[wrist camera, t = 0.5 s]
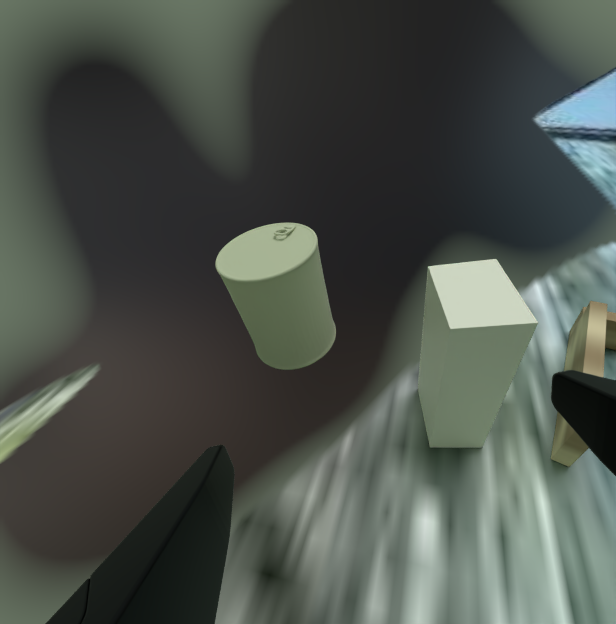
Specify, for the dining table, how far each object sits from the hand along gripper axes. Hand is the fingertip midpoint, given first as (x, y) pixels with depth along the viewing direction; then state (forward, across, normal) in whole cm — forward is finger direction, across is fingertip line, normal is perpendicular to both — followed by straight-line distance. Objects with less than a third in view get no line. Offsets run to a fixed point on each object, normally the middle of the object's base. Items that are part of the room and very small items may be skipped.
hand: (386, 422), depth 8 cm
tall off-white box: (+13, -7, +12) cm, 19 cm away
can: (+24, +4, +8) cm, 26 cm away
